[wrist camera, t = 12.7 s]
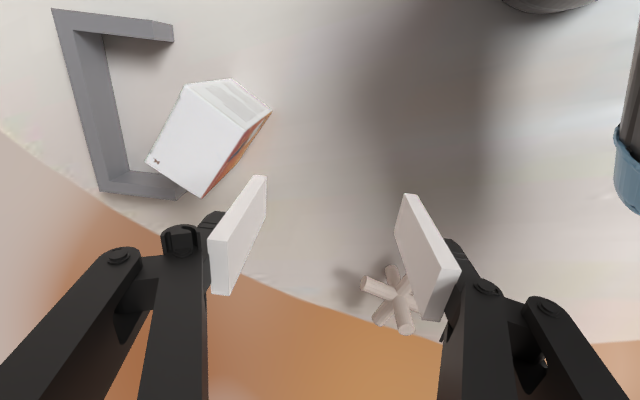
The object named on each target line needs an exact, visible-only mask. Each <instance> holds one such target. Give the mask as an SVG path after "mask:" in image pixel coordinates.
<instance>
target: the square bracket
mask: <svg viewBox="0 0 640 400" xmlns="http://www.w3.org/2000/svg"><path fill="white" fill-rule="evenodd" d="M51 11H52V15H53V18H54V22H55V26H56V30H57V33H58V37H59V41H60V45H61V48H62V52H63V56H64V60H65V63H66V67H67V71H68V75H69V78H70V82H71V86H72V90H73V93H74V97H75V101H76V105H77V108H78V112H79V116H80V120H81V123H82V127H83V131H84V135H85V138H86V142H87V146H88V150H89V153H90V157H91V161H92V165H93V168H94V172H95V176H96V179H97V183H98V187H99V191H100V192H108V193H116V194H124V195H133V196H141V197H149V198H157V199H165V200H173V201H176V200H178V199H179V198H180V197H181V196H182V195H183V194H184V193H186V192H187V190H186V189H184V188H183V187H181V186H180V185H178V184H177V183H175V182H174V181H172V180H171V179H169V178H168V177H166V176H164V175H162V174H154V173H145V172H137V171H130V170H129V165H128V160H127V155H126V151H125V146H124V141H123V136H122V131H121V126H120V122H119V117H118V112H117V107H116V102H115V97H114V92H113V88H112V83H111V78H110V73H109V68H108V63H107V59H106V54H105V49H104V44H103V39H102V34H101V33H103V34H111V35H119V36H127V37H135V38H143V39H151V40H160V41H169V42H174V35H173V26H172V25H171V24H166V23H161V22H156V21H152V20H144V19H135V18H127V17H119V16H111V15H103V14H95V13H87V12H78V11H70V10H62V9H54V8H51Z"/></svg>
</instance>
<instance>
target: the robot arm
mask: <svg viewBox="0 0 640 400" xmlns="http://www.w3.org/2000/svg"><path fill="white" fill-rule="evenodd" d="M502 1H503V2H505V3H506V4H508V5H509V6H511V7H513V8H515V9H518V10H520V11H524V12H528V13H536V14H547V13H555V12H560V11H565V10H569V9H574V8H578V7H581V6H584V5H587V4H590V3H593V2H595V1H597V0H502ZM613 139H614V144H615V146H616V158H615V168H614V177H613V178H614V186H615V189H616V192H617V194H618V196H619V198H620V199H621V200H622V202H623V203H624V204H625V205H626V206H627V207H628V208H629V209H630V210H631V211H632V212H634V213H636V214H638V215H640V16H639V22H638V28H637V35H636V41H635V47H634V53H633V59H632V65H631V70H630V75H629V81H628V86H627V91H626V97H625V102H624V107H623V113H622V118H621V123H620V124H619V125H618V126H617V127H616V128H615V131H614V135H613ZM266 193H267V176H262V175H253V176H252V178H251V179H250V181H249V182H248V183H247V185H246V186H245V187H244V189H243V190H242V192H241V193H240V194H239V196H238V197H237V198H236V200H235V201H234V203H233V204H232V205H231V207H230V208H229V209H228V211H227V212H220V211H214V212H212V213H210V214H209V215H207V216H206V217H205V218H204V219H203V220H202V222H201V223H200V224H199V225H198V226H197V227H196V226H193V225H189V224H181V225H176V226H172V227H170V228H167V229H166V230H165V231H163V232H162V234H161V235H160V237H161V243H162V249H163V255H159V256H148V257H141V254H140V252H139V250H138V249H136V248H134V247H119V248H115V249H112V250H110V251H107V252H106V253H104V254H102V255H101V256H100V257H99V258H98V259H97V260H96V261H95V262H94V263H93V264H92V265H91V266H90V268H88V270H87V271H86V272H85V273H84V274H83V275H82V276H81V277H80V279H78V281H77V282H76V283H75V284H74V285H73V286H72V287H71V288H70V289H69V290H68V292H67V293H66V294H65V295H64V296H63V297H62V298H61V299H60V300H59V301H58V303H57V304H56V305H55V306H54V307H53V308H52V309H51V310H50V311H49V312H48V314H47V315H46V316H45V317H44V318H43V319H42V320H41V321H40V322H39V324H38V325H37V326H36V327H35V328H34V329H33V330H32V331H31V332H30V333H29V334H28V336H27V337H26V338H25V339H24V340H23V341H22V342H21V343H20V344H19V345H18V347H17V348H16V349H15V350H14V351H13V352H12V353H11V354H10V355H9V356H8V358H7V359H6V360H5V361H4V362H3V363H2V364H1V365H0V400H104V398H105V396H106V394H107V392H108V391H109V389H110V387H111V385H112V383H113V381H114V379H115V377H116V375H117V373H118V371H119V369H120V368H121V366H122V364H123V362H124V360H125V358H126V356H127V354H128V352H129V350H130V348H131V346H132V344H133V343H134V341H135V339H136V337H137V335H138V333H139V331H140V329H141V327H142V325H143V323H144V321H145V319H146V318H147V316H148V314H149V312H150V310H153V315H152V320H151V326H150V332H149V337H148V342H147V348H146V353H145V359H144V365H143V371H142V375H141V381H140V386H139V392H138V398H137V400H208V350H207V349H208V348H207V302H206V301H207V299H206V291H207V289H208V288H209V286H210V284H211V293H212V294H218V295H225V296H230V294H231V292H232V290H233V288H234V285H235V283H236V281H237V278H238V277H239V275H240V272H241V270H242V268H243V266H244V264H245V261H246V259H247V257H248V255H249V253H250V250H251V248H252V246H253V244H254V242H255V239H256V237H257V235H258V233H259V231H260V229H261V226H262V224H263V222H264V220H265V218H266ZM393 233H394V236H395V239H396V242H397V245H398V249H399V252H400V255H401V258H402V261H403V264H404V267H405V270H406V273H407V276H408V279H409V283H410V286H411V289H412V292H413V295H414V298H415V301H416V304H417V307H418V310H419V313H420V317H421V320H427V321H435V322H440V321H441V318H442V316H443V314H444V312H445V314H446V317H447V319H448V323H447V325H446V327H445V329H444V331H443V334H442V336H441V338H440V340H439V341H440V342H442V341H443V350H442V358H441V367H440V375H439V384H438V393H437V400H629V398H628V397H627V395H626V394H625V393H624V391H623V390H622V388H621V387H620V385H619V384H618V383H617V381H616V380H615V378H614V377H613V376H612V375H611V373H610V372H609V370H608V369H607V367H606V366H605V365H604V363H603V362H602V360H601V359H600V358H599V356H598V355H597V353H596V352H595V351H594V349H593V348H592V346H591V345H590V344H589V342H588V341H587V339H586V338H585V337H584V335H583V334H582V332H581V331H580V330H579V328H578V327H577V325H576V324H575V323H574V321H573V320H572V318H571V317H570V316H569V314H568V313H567V312H566V311H565V310H564V309H563V308H561V307H560V306H559V305H557V304H556V303H554V302H553V301H551V300H548V299H545V298H542V297H538V296H532V297H529V298H528V299H527V301H526V303H525V304H523V303H520V302H517V301H514V300H511V299H508V298H505V297H504V296H503V293H502V291H501V290H500V289H499V288H498V287H497V286H496V285H494V284H493V283H491V282H490V281H487V280H485V279H482V278H480V276H479V275H478V273H477V272H476V270H475V269H474V267H473V265H472V264H471V262H470V261H468V258H467V256H466V255H464V252H463V250H462V249H461V247H460V246H459V245H458V244H457V243H455V242H454V241H453V240H452V239H444V238H442V236H441V234H440V233H439V231H438V229H437V228H436V226H435V224H434V223H433V221H432V219H431V217H430V216H429V214H428V212H427V211H426V209H425V207H424V206H423V204H422V202H421V200H420V199H419V197H418V195H416V194H408V193H404V195H403V199H402V202H401V206H400V210H399V213H398V217H397V221H396V225H395V228H394V232H393ZM545 358H546V361H547V364H546V362H545V361H544V359H545Z"/></svg>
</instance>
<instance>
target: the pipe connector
mask: <svg viewBox="0 0 640 400" xmlns="http://www.w3.org/2000/svg"><path fill="white" fill-rule="evenodd" d="M385 274H386V278H387V283H388V285H387V284H385V283H382V282H380V281H377V280H375V279H373V278H370V277H368V276H364V277H363V278H362V280H361V282H360V290H363V291H365V292H368V293H370V294H372V295H375V296H377V297H380V298H382V299H385V300H384V302H383V303H382V304H381V305H380V307H379V308H378V309H377V310H376V312H375V313H374V314H373V315H372V320H373V322H374V323H375V324H376V325H378V326H381V327H382V326H383V325H384V324H385V323H386V322H387V320H388V319H389V318H390V317H391V316H392V315H393V313H394V314H395V318H396V322H397V327H398V331H399V333H400V334H402V335H411V334H413V333H414V332H415V327H414V323H413V320H412V316H411V313H410V310H412V311H414V312H417V313H419V310H418V307H417V304H416V301H415V298H414V296H413V295H411V292H412V289H411V286H410V283H409V279H408V276H407V273H406V274H405V276H404V277H403V278H402V279H401V278H400V275H399V271H398V268H397V267H396V266H395V265H388V266H387V267H386V268H385ZM419 314H420V313H419Z"/></svg>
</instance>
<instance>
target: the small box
mask: <svg viewBox="0 0 640 400" xmlns="http://www.w3.org/2000/svg"><path fill="white" fill-rule="evenodd" d="M271 113H272V110H271V109H270V108H269V107H268V106H266V105H265V104H264V103H263V102H261V101H260V100H259V99H258V98H256V97H255V96H254V95H252V94H251V93H250V92H249V91H247V90H246V89H245V88H244V87H242V86H241V85H240V84H239V83H237V82H236V81H235V80H233V79H232V78H227V79H220V80H212V81H204V82H197V83H190V84H184V86H183V88H182V90H181V92H180V95H179V97H178V99H177V101H176V103H175V105H174V107H173V109H172V111H171V113H170V115H169V117H168V119H167V121H166V123H165V125H164V127H163V129H162V130H161V132H160V134H159V136H158V138H157V140H156V142H155V144H154V145H153V147H152V149H151V151H150V152H149V154H148V155H147V157H146V159H145V160H144V162H145V163H146V164H148V165H149V166H151V167H152V168H154V169H155V170H157V171H158V172H160V173H161V174H163V175H164V176H166V177H168V178H169V179H171V180H172V181H174V182H175V183H177V184H178V185H180V186H181V187H183V188H184V189H186V190H187V191H189V192H191V193H192V194H194V195H195V196H197V197H198V198H200V199H202V198H203V197H204V196H205V195H206V194H207V193H208V192H209V191H210V190H211V189H212V188H213V187H214V186H215V185H216V184H217V183H218V182H219V181H220V180H221V179H222V178H223V177H224V176H225V175H226V174H227V173H228V172H229V171H230V170H231V169H232V168H233V167H234V166H235V165H236V164H237V163H238V162H239V160H240V158H241V157H242V155H243V154H244V152H245V150H246V149H247V147H248V146H249V145H250V143H251V142H252V140H253V139H254V137H255V136H256V135H257V133H258V132H259V130H260V129H261V127H262V126H263V124H264V123H265V122H266V120H267V119H268V117H269V116H270V114H271Z"/></svg>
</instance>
